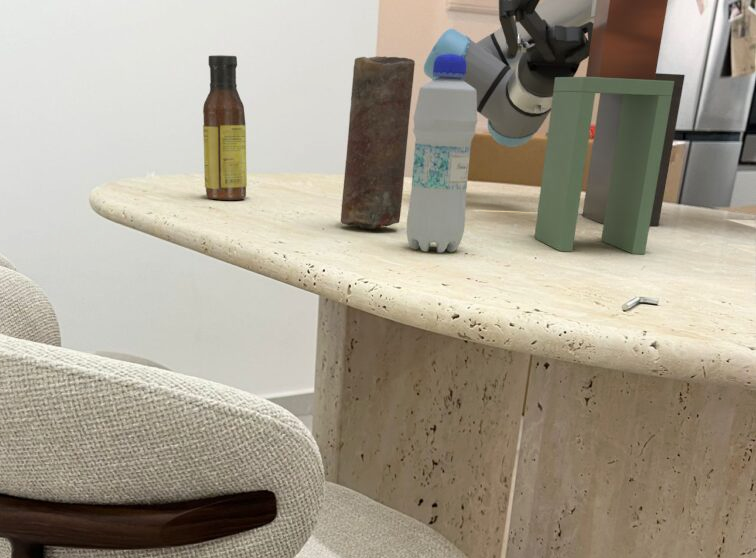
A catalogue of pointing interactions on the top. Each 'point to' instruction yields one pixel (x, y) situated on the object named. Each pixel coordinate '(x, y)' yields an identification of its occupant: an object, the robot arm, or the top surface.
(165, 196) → the top surface
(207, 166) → the sauce bottle
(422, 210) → the bottle
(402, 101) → the rusty brown cylinder
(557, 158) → the green arch
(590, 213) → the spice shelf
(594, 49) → the brown box
